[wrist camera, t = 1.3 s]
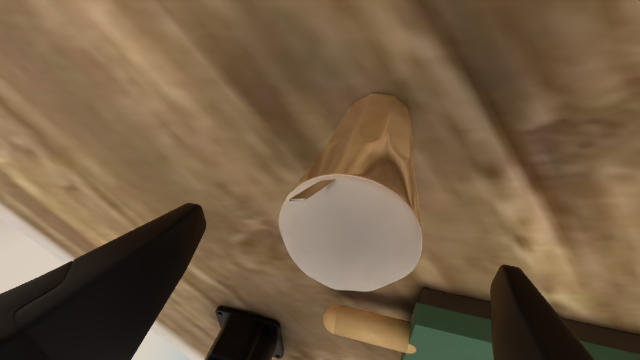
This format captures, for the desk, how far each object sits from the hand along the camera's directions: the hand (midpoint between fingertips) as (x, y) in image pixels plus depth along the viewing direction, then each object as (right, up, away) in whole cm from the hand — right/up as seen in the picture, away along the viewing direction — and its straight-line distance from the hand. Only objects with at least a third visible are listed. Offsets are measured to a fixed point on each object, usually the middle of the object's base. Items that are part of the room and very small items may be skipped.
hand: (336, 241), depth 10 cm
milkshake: (+2, +5, +7) cm, 9 cm away
